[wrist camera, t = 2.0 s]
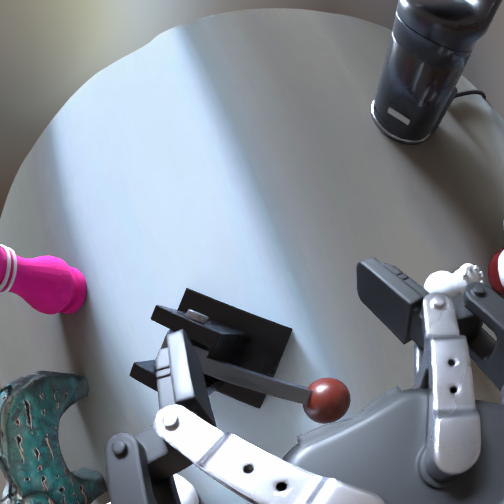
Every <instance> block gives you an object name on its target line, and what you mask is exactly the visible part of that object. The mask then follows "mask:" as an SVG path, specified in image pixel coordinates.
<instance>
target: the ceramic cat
mask: <svg viewBox="0 0 504 504" xmlns="http://www.w3.org/2000/svg"><path fill="white" fill-rule="evenodd" d="M86 396H88V384H87V380H86V377H84V376H80V375H74V374H69V373H58V372H49V371H38V372H35V373H33V374H28V375H25V376H22V377H19V378H18V379H16V380H14V381H12V382H10V383H9V384H7V385H6V386H5V387H3V388H2V389H0V468H1V470H2V472H3V474H4V476H5V478H6V482H7V484H6V486H5V489H4V492H3V497H2V499H1V500H0V502H2V504H91V503H92V502H93V501H94V500H95V499H96V498H97V497H99V496H100V495H102V494H103V493H105V492H106V487H105V482H104V479H103V477H102V476H101V475H100V474H99V473H97V472H95V471H92V470H88V469H85V468H81V469H79V470H77V471H75V472H70V471H69V469H68V468H67V466H66V463H65V461H64V459H63V456H62V454H61V450H60V446H59V441H58V428H59V421H60V418H61V416H62V414H63V413H64V412H65V411H66V410H67V409H68V408H69V407H70V406H71V405H72V404H74V403H75V402H77V401H78V400H80V399H82V398H84V397H86Z"/></svg>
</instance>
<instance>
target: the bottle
mask: <svg viewBox="0 0 504 504" xmlns="http://www.w3.org/2000/svg"><path fill="white" fill-rule="evenodd" d="M173 476H174V479H175V483H176V487H177V491H178V494H179V498H180V501H181V504H199V499H198V495H197V492H196V491H195V489H194V488H193V486H192V485H191V484H190V483H189V482H188V481H187V480H185V479H184V478H183V477H181V476H179V475H177V474H175V475H173ZM108 504H111V503H110V502H109V503H108Z"/></svg>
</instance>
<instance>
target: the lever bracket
mask: <svg viewBox="0 0 504 504" xmlns="http://www.w3.org/2000/svg"><path fill="white" fill-rule="evenodd" d="M151 320H153V321H155V322H157V323H159V324H161V325H163V326H165V327H167V328H169V329H170V330H171V331H173V332H176V331H179V330H182V329H184V331H185V332H186V334H187V336H188V338H190V339H193V340H195V341H197V342H200V343H202V344H204V345H206V346H207V348H208V350H209V353H208V356H211V357H213V358H216V359H219V360H222V361H224V362H227V363H230V364H233V365H236V366H239V367H241V368H244V369H247V370H250V371H253V372H257V373H260V374H263V375H266V376H269V377H272V378H273V377H274V375H275V372H276V370H277V367H278V365H279V362H280V360H281V357H282V355H283V352H284V350H285V347H286V345H287V342H288V340H289V337H290V334H291V332H292V329H291V328H289V327H286V326H283V325H280V324H278V323H275V322H272V321H269V320H267V319H264V318H261V317H259V316H256V315H254V314H251V313H248V312H246V311H243V310H241V309H238V308H235V307H233V306H230V305H228V304H225V303H223V302H220V301H218V300H215V299H213V298H210V297H208V296H205V295H203V294H201V293H198V292H196V291H193V290H191V289H189V288H186V291H185V293H184V296H183V298H182V300H181V303H180V305H179V308H178V310H175V309H171V308H167V307H163V306H159V305H156V307H155V309H154V312H153V314H152V317H151ZM155 363H156V361H155V360H150V361H143V362H135V363H134V364H133V367H132V370H131V373H130V376H131V377H132V378H134V379H136V380H138V381H139V382H141V383H143V384H145V385H146V386H148V387H150V388H152V389H154V390H155V391H157V392H158V388H157V376H156V372H157V371H156V366H155ZM203 375H204V379H205V384H206V388H207V392H208V396H209V395H210V394H211V393H213V392H214V391H217V392H220V393H222V394H224V395H227V396H229V397H231V398H234V399H236V400H239V401H241V402H244V403H246V404H249V405H251V406H254V407H257V408H260V407H261V405H262V403H263V401H264V398H265V396H266V394H264V393H261V392H258V391H254V390H251V389H248V388H245V387H241V386H238V385H235V384H232V383H229V382H226V381H223V380H220V379H217V378H215V377H212V376H209V375H206V374H203Z"/></svg>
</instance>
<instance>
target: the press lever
mask: <svg viewBox="0 0 504 504" xmlns="http://www.w3.org/2000/svg"><path fill="white" fill-rule="evenodd" d="M170 333H173V331H171V330H169V331H168V332H167V334H170ZM167 334H166V336H165V339H164V342H163V344H162V347H161V349H164V348H167ZM189 340H190V342H191V344H192V346H193V348H194V349H195V351H196V353H197V355H198V358H199V360H200V363H201V367H202V371H203V374H206V375H209V376H212V377H215V378H217V379H220V380H223V381H226V382H229V383H232V384H235V385H238V386H241V387H245V388H248V389H251V390H254V391H258V392H261V393H264V394H268V395H271V396H275V397H279V398H282V399H286V400H290V401H294V402H298V403H302V404H303V409H304V411H305V413H306V415H307V416H308V417H309V418H310V419H311V420H313V421H315V422H318V423H323V424H327V423H332V422H335V421H337V420H339V419H340V418H342V417H343V416H344V415H345V413H346V412H347V410H348V408H349V406H350V393H349V391H348V388H347V387H346V386H345V385H344V384H343V383H342V382H341V381H339V380H337V379H334V378H322V379H319V380H317V381H315V382H313V383H312V384H311V385H310V386H309V387H308V388H307V387H303V386H300V385H296V384H293V383H289V382H286V381H282V380H279V379H276V378H272V377H269V376H266V375H263V374H260V373H257V372H253V371H250V370H247V369H244V368H241V367H239V366H236V365H233V364H230V363H227V362H224V361H222V360H219V359H216V358H213V357H211V356H208V353H209V350H208V348H207V346H206V345H204V344H202V343H200V342H197V341H195V340H193V339H190V338H189ZM155 366H156V363H155Z"/></svg>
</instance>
